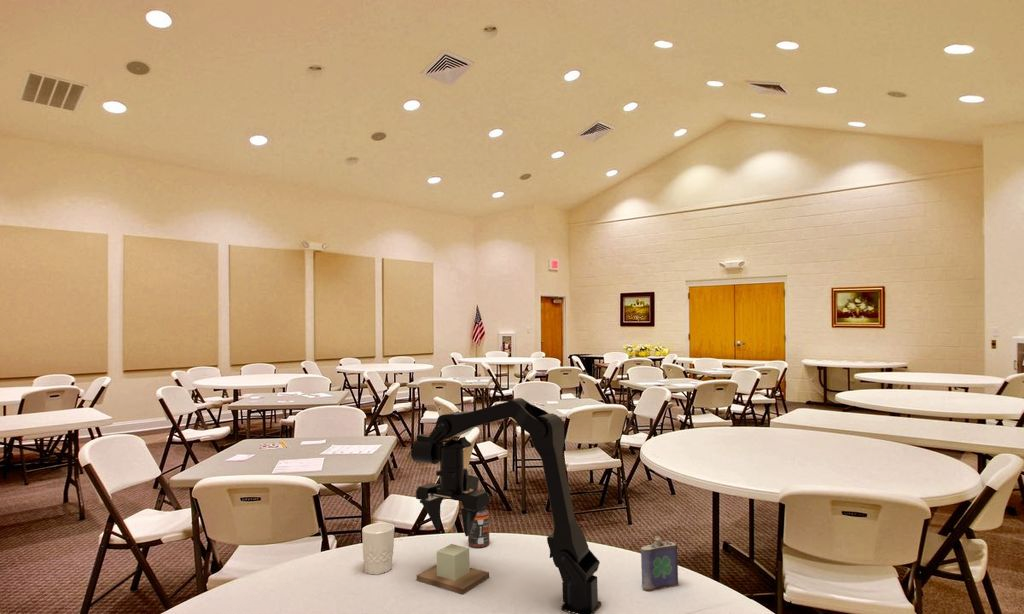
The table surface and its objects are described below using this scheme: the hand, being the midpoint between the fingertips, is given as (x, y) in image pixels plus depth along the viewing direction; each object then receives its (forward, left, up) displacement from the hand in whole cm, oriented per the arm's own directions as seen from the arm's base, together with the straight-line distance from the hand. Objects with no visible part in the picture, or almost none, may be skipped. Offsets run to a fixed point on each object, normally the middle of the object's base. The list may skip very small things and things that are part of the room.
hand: (452, 532), depth 123 cm
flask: (-43, -21, -11) cm, 49 cm away
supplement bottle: (+8, -21, -11) cm, 25 cm away
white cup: (+20, +5, -11) cm, 23 cm away
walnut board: (0, 0, -11) cm, 11 cm away
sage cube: (0, 0, -10) cm, 10 cm away
